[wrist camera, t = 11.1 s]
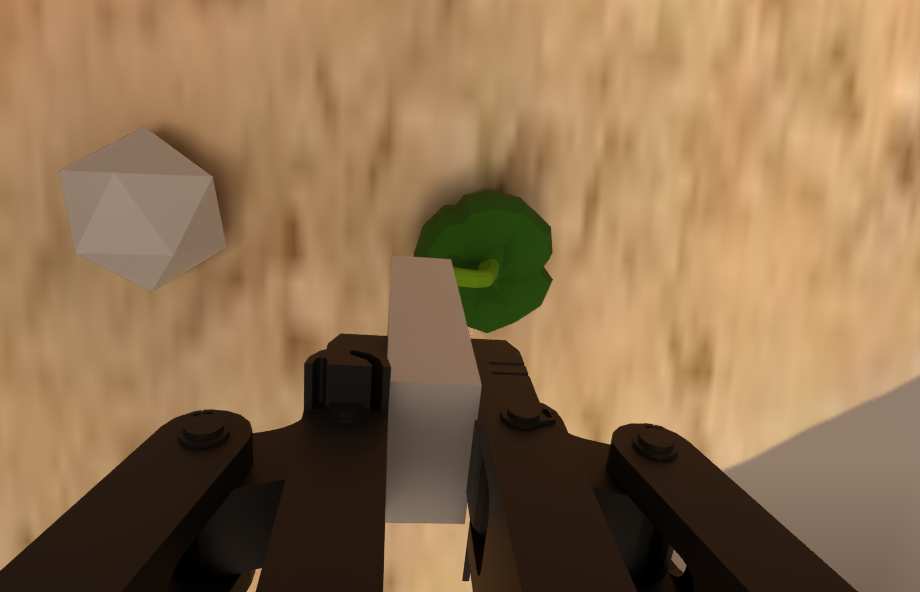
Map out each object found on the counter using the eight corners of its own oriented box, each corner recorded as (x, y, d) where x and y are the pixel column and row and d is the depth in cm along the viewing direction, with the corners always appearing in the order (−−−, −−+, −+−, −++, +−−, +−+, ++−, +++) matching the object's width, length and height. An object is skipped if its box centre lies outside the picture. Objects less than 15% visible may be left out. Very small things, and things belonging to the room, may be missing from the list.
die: (144, 96, 39) (-9, 160, 32) (253, 138, 36) (110, 216, 30) (172, 207, 44) (46, 281, 38) (269, 250, 42) (151, 337, 35)
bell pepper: (559, 214, 43) (602, 259, 34) (493, 310, 45) (517, 377, 36) (455, 149, 41) (471, 178, 32) (392, 253, 43) (389, 309, 34)
